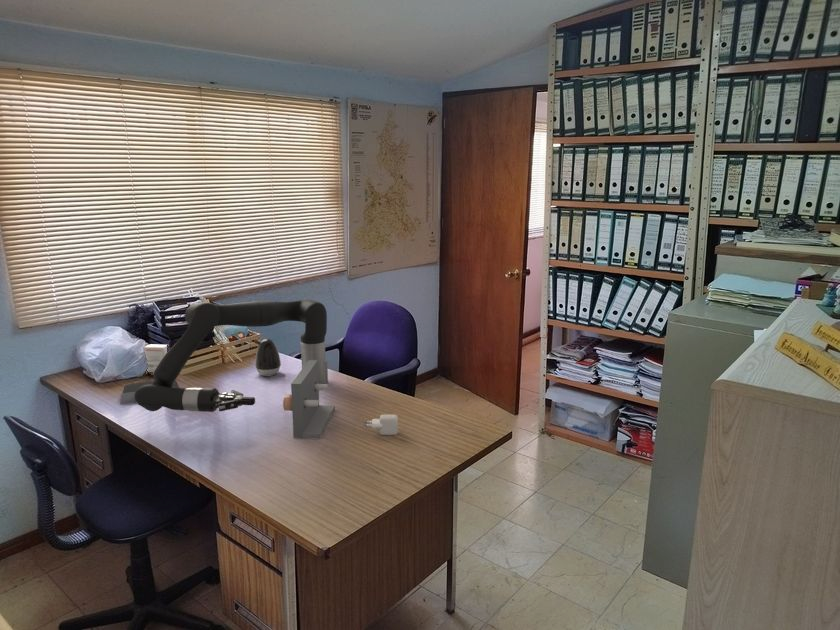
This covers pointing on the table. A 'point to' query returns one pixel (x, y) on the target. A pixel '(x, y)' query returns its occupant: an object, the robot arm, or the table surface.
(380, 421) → the power adapter
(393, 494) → the table surface
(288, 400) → the terracotta knob
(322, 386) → the cream knob
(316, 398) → the knob mount
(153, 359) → the ink box
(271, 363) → the dark grey tapered speaker
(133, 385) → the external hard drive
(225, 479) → the table surface
